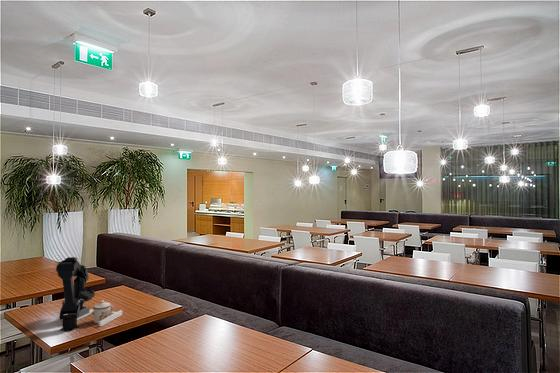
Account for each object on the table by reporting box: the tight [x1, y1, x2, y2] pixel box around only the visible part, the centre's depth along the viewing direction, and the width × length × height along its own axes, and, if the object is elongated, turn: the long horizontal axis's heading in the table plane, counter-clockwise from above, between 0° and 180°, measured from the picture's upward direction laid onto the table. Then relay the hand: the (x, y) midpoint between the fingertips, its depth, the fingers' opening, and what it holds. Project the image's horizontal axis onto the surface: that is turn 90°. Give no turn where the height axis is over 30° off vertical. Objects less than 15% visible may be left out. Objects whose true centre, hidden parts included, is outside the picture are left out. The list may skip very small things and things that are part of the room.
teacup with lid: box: [92, 300, 114, 324], centre depth 197 cm, size 12×9×12 cm
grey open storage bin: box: [67, 305, 123, 327], centre depth 198 cm, size 18×26×5 cm
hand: (78, 313), depth 200 cm, fingers closed
